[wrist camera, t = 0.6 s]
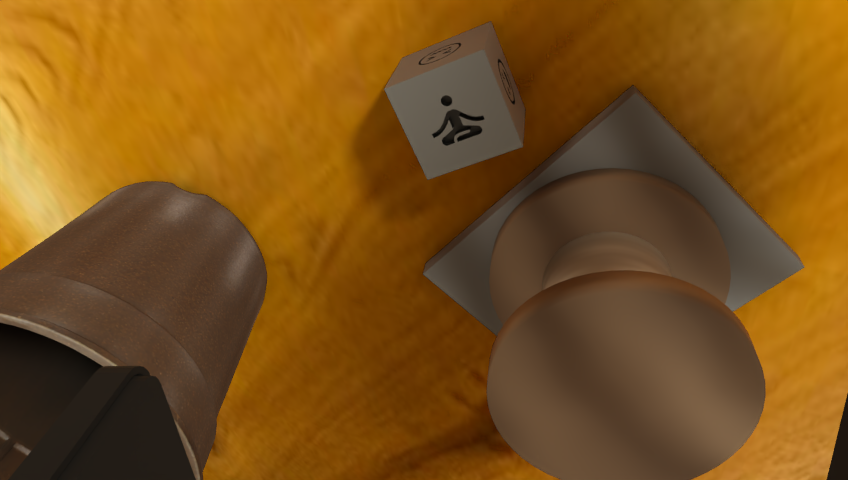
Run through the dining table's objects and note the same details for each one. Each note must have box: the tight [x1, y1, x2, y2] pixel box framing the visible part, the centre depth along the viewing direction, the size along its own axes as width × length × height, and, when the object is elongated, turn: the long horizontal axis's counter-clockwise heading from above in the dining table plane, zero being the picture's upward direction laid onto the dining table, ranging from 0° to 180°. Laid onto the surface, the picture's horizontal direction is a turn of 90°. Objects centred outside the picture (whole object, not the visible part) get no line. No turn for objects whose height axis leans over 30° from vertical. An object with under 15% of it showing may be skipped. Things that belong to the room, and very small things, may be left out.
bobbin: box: [423, 85, 804, 480], centre depth 36 cm, size 16×14×12 cm
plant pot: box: [0, 182, 267, 480], centre depth 39 cm, size 16×16×16 cm
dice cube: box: [384, 21, 526, 180], centre depth 35 cm, size 5×5×5 cm
